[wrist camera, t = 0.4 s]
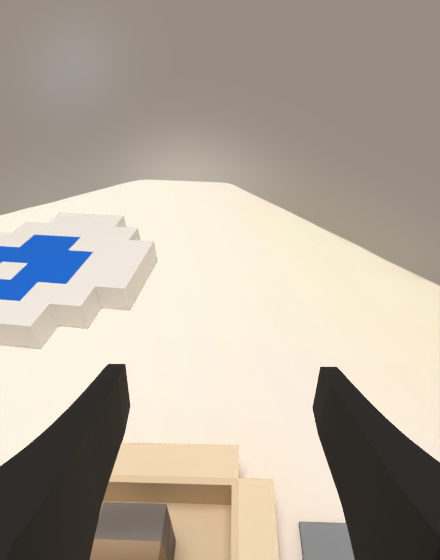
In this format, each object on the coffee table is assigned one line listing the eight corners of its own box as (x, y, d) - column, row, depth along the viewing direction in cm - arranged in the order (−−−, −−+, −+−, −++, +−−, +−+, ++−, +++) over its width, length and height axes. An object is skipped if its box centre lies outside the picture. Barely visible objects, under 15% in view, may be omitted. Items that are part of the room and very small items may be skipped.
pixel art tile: (97, 332, 39) (-122, 311, 43) (105, 358, 42) (-103, 335, 46) (168, 217, 62) (19, 211, 66) (170, 238, 64) (26, 230, 68)
